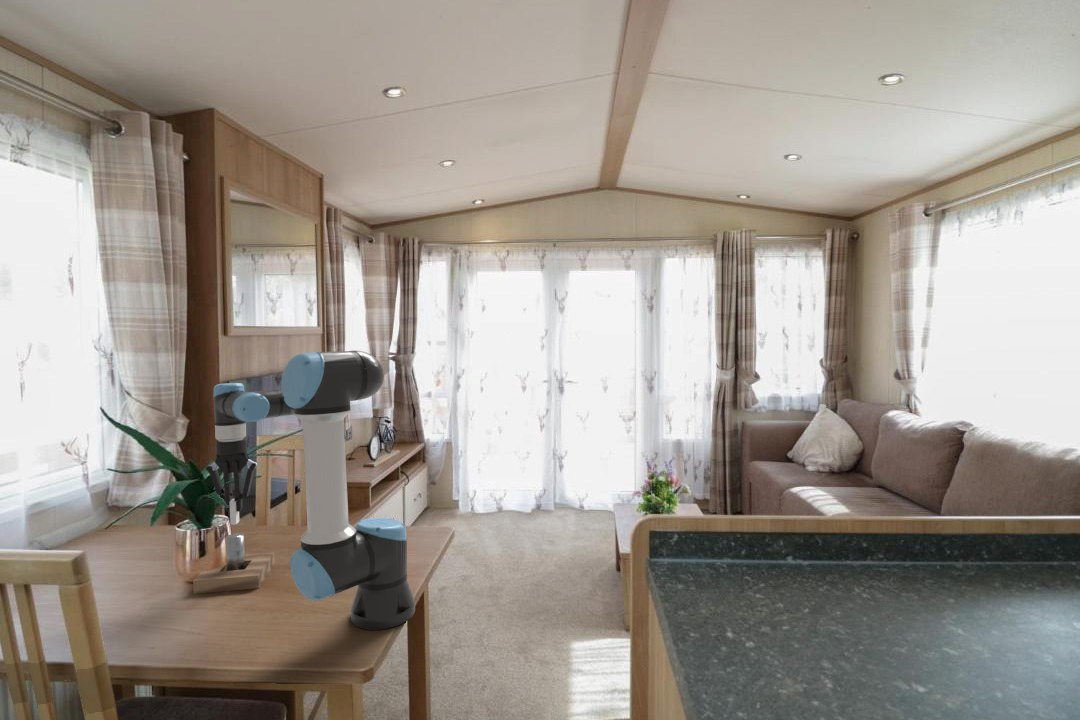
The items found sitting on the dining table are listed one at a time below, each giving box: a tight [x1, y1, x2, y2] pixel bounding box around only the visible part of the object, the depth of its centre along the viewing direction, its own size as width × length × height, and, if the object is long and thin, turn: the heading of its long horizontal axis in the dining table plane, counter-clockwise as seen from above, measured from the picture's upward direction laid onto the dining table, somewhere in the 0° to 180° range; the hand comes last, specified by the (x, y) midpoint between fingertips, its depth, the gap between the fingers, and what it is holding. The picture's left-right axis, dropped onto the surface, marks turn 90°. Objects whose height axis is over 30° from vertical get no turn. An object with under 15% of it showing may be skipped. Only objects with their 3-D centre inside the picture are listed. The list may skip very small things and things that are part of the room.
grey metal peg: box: [225, 532, 246, 571], centre depth 158 cm, size 4×4×12 cm
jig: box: [192, 551, 276, 595], centre depth 158 cm, size 16×16×4 cm
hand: (235, 523), depth 157 cm, fingers closed
